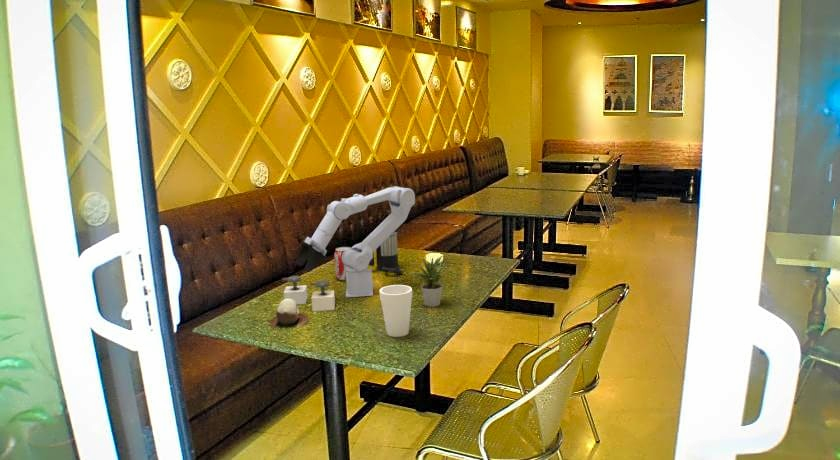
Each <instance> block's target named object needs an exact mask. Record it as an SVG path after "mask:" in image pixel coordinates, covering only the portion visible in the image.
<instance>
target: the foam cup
mask: <svg viewBox="0 0 840 460" xmlns="http://www.w3.org/2000/svg"><path fill="white" fill-rule="evenodd" d="M412 288H413V287H411V286H409V285H404V284H392V285H386V286H383V287H381V288H380V289H379V300H380V303H381V308H382V314H383V320H384V324H385V330H386V331H385V332H386V334H387V335H388V336H389V337H393V338H394V337H395V338H397V337H398V338H399V337H404V336H407V335H408V334H409V332H410V320H411V312H412V311H411V309H412V299H413V289H412Z"/></svg>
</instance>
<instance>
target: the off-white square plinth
mask: <svg viewBox="0 0 840 460" xmlns="http://www.w3.org/2000/svg"><path fill="white" fill-rule="evenodd" d="M310 300H311V310H312V312H322V311H323V312H324V311H325V312H326V311H335V305H336V296H335V290H333V289H332V290H325V295H321V290H317V291H312V294H311V299H310Z"/></svg>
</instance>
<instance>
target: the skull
mask: <svg viewBox="0 0 840 460" xmlns="http://www.w3.org/2000/svg"><path fill="white" fill-rule="evenodd" d="M299 309H300V308H299V306H298V305H297V302H296V301H294V300H292V299H284V298H283V299H282V300H281V301H280V302H279V304H278V306H277V308H276V311H275V312H276V316H275V317H272V318H271V320H270V321H269V326H270V327H271V328H274V329H277V328H281V327H289V328H290V327H295V328H296V327H303V326H304V325H305V324H307V322H309V320H310V316H308V315H307V314H305V313H302V312H299Z"/></svg>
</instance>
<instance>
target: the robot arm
mask: <svg viewBox="0 0 840 460" xmlns="http://www.w3.org/2000/svg"><path fill="white" fill-rule="evenodd" d="M386 201H388V203H389V207H390V214H389V215H388V216H386V218H385V219H383V221H382V222H380V224H379V225H378V226H377V227H376V228H375V229H374V230H373V231H372V232H370V233H369V234H368V235H367V236H366V238H364V239H363V240H362V242H359V243H355V244H354V245H353V246H352V247H349V248H350V249H347V250H346V251H344V253H343V255H342V262H343V263H344V264H345V265H346V280H345V282H346V291H345V297H346V298H356V297H369V296H374V289H375V288H374V287H375V285H374V283H373V272H372V271H373V268H368V266H369V265H368V264H369V262H370V261H371V259H372V258H373V252H376V249H377V248H378V247H379V246H380V245H381V244H382V243H383V242H384V241H385V240H386V239H387V238H388V237H389V236H390V235H391V234H392V233H393V232H396V230H397V229H398V228H399V227H400V226H401V225H402V224H403V223H404V222H405V221H406V220H407V218H408V215H409V213H410V211H411V210H412V209H411V208H412V207H413V206H414V205H415V204H416V194H415V192H414V190H413V189H411V188H410V187H401V186H397V185H394V186H390V187H386V188H383V189H380V190H378V191H376V192H374V193H371V194H368V195H365V196H364V195H362V194H359V193H355V194H353V195H352V196H351V197H348V198H344V197H343V198H341V200H340V201H339V200H334V201H332V202H330V204H327V207H326V214H325V215H324V217H323V218H322V220H321V221H320V223H319V225H318V226H317V227H316V230H315V231H314V233H313V235H312V236H311V237H309V236H306V238H305V240H304V241H302V240H301V242H300V244H299V253H298V256H297V257H296V258H297V259H296V261H295V264H296V265H298V266H300V267H303V266H304V265H305V266H304V270H306V271H308V272H312V271H313V270H314V269H315V268H316V267H317V265H319V264H320V263H321V262H323V261H324V260H326V259H327V256H326V254H327V252H328V250H327V249H326V248H327V246H328V244H329V243H330V242H331V239H333V236H334V234H336V231H337V230H338V228H339V226H340V225H341V223H342V221H343V220H346V219H348V218H349V216H352V215H354V214H357V213H360V212H364V211H366V210H367V208H368V206H371V205H374V204H378V203H381V202H386ZM305 263H306V264H305Z"/></svg>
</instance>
